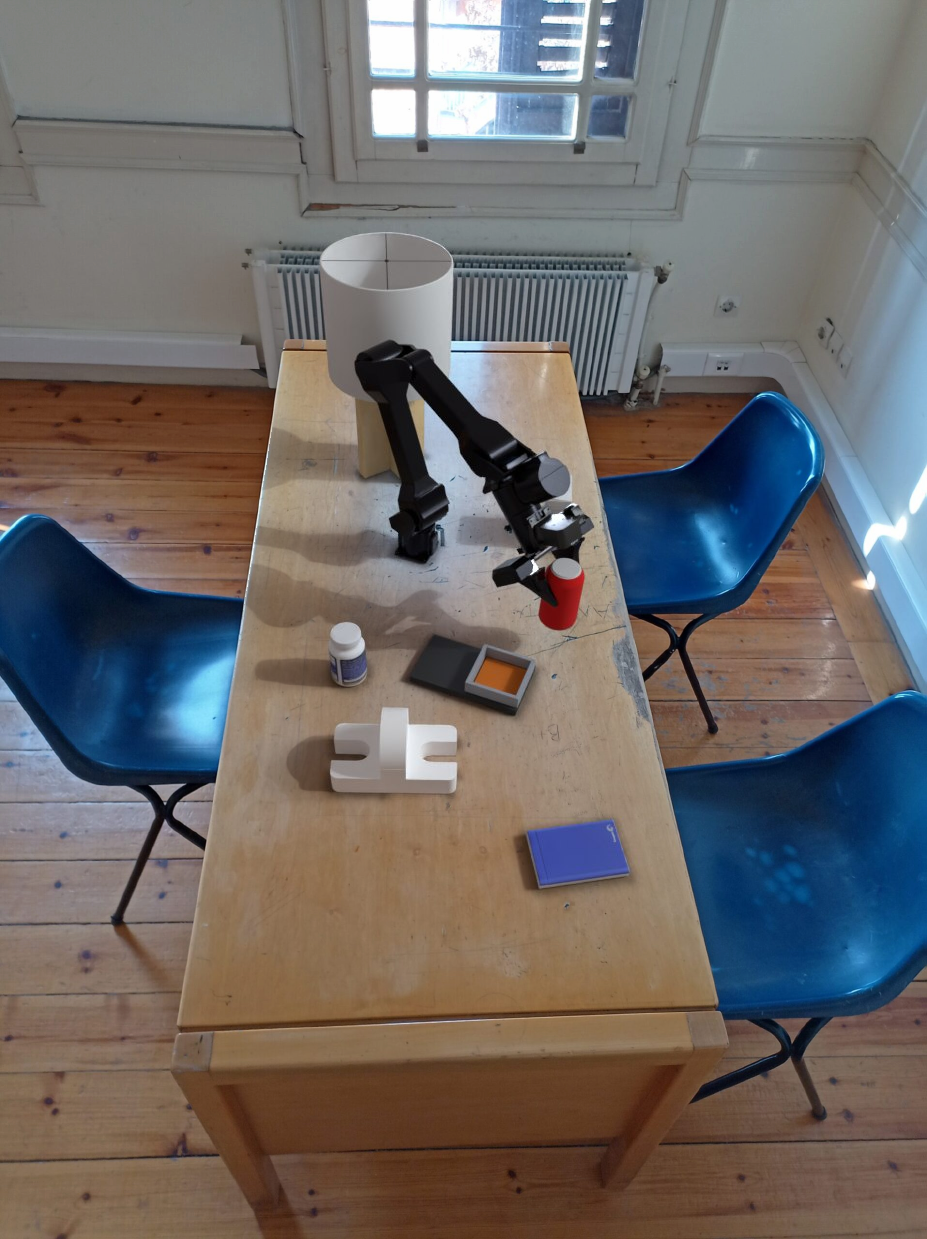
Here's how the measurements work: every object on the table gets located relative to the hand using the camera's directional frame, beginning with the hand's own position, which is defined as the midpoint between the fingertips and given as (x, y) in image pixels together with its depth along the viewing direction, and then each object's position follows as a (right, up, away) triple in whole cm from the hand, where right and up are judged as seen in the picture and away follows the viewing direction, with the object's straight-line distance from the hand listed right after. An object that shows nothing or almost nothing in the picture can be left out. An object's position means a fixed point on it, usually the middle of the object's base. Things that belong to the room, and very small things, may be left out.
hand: (568, 597), depth 135 cm
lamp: (-31, +28, +43) cm, 60 cm away
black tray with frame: (-15, -13, +4) cm, 20 cm away
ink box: (0, +12, +29) cm, 31 cm away
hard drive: (-1, -36, -17) cm, 40 cm away
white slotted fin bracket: (-27, -25, -8) cm, 37 cm away
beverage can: (-1, -4, +6) cm, 7 cm away
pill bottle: (-35, -13, +4) cm, 37 cm away
